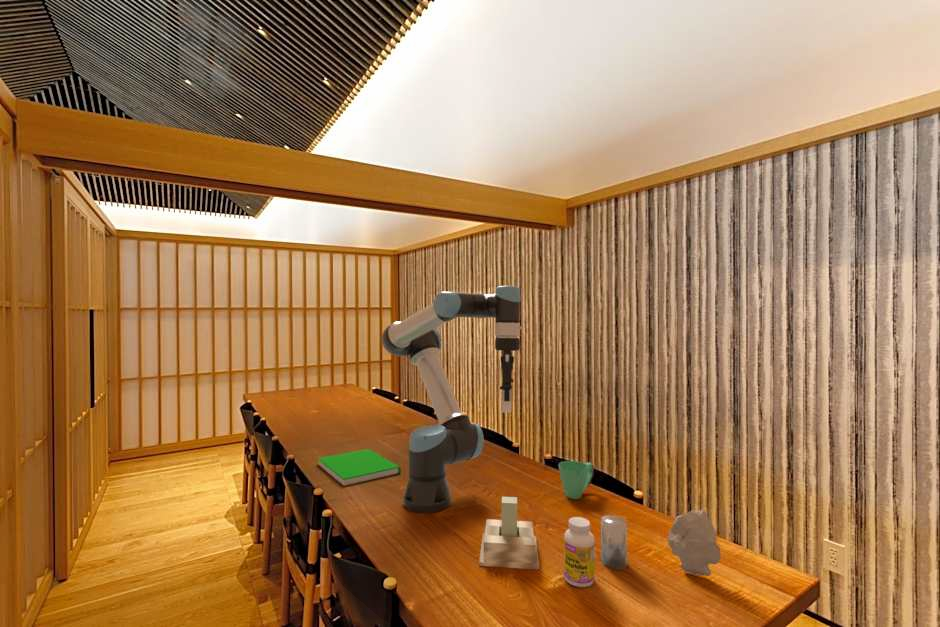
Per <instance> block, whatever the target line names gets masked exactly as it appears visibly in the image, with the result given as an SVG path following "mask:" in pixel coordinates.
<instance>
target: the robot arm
mask: <svg viewBox="0 0 940 627" xmlns="http://www.w3.org/2000/svg"><path fill="white" fill-rule="evenodd" d="M521 302H522V300H521V290H520V288H519V287H518V286H515V285H500V286H496V288H495V292H494V293H486V294H485V293H472V292H471V293H469V292H460V291H452V290H449V291H440V292H438V293H437V294H436V296H435V297H434V299H433V302H432V303H431V304H429V305H428V306H426V307H424V308H422V309H421V310H419V311H417V312H416V313H414V314H412V315H410V316H409V317H407V318H405V319H404V320H401V321H395V322H393V323H391V324H389V325H388V326H387V327H386V328H385V329H384V330H383V332H382V335H381V343H382V346H383V348H384V349H385V351H386V352H388V353H389V354H391V355H393V356H396V357H408V358H409V361H410V362H411V364H412V365H413V366H417V369H418V373H419V374H420V376H421V380H422V381H423V385H424V387H425V390H426V393H427V395H428V398H429V399H430V402H431V405H432V407H433V410H434V412H435V415H436V418H437V421H438V424H431V425H429V424H428V425H422V426H419V427H418V428H417V427H416V429H414V430H412V431H411V434H410V435H409V441H408V442H409V443H408V449H409V450H408V454H409V455H408V456H409V458H408V459H409V460H408V479H407V483H406V487H405V490H404V493H403V496H402V505H403V507H404V508H405V509H406V510H409V511H411V512H414V513H420V514H421V513H422V514H423V513H424V514H428V513H431V514H432V513H437V512H440V511H443V510H446V509H447V508H448V507H450V505H451V504H452V494H451V490H450V487H449V484H448V481H447V476H446V475H447V472H446V471H447V466H450V465H454V464H457V463H461V462H464V461H471V459H474V458H477V457H478V456H479V455H480V454H481V452H482V450H483V448H484V443H485V442H484V440H485V439H484V433H483V430H482V428H481V426H480V425H479V424H477V423H475V422H471V419H470V417H469V415H468V414H466V413H463V412H462V410H461V408H460V405H459V403H458V401H457V398H456V396H455V393H454V391H453V388H452V387H451V384H450V382H449V379H448V377H447V375H446V371H445V370H444V367H443V365H442V362H441V360H440V358H439V357H440V355H441V349H442V343H441V342H442V337H441V334H440V332H439V330H438V329H437V328H438V327H439V328H440V327H441V326H442V325H445V324H447V323H449V322H450V321H453V320H455V319H458V318H475V319H488V318H489V319H490V318H491V319H493V318H495V320H494V336H496V337H495V339H494V349H495V350H496V351H500V352H501V351H503V353H502V355H501V356H500V363H501V364H500V365H501V366H500V367H501V370H502V385H500V386H499V390H501V413H507V414H508V413H510V414H512V406H513V404H512V399H513V398H512V394H513V393H512V392H513V391H512V390H513V389H512V387H513V386H512V384H513V383H514V378H513V379H512V371H514V363H515V356H513V352H514V351H520V349H521V339H520V338H519V337H520V336H521V330H522V329H523V327H522V326H521Z"/></svg>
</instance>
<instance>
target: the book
mask: <svg viewBox="0 0 940 627" xmlns="http://www.w3.org/2000/svg"><path fill="white" fill-rule="evenodd" d="M317 461H318V464H317V466H320V467H321V468H322V469H323V470H324V471H325V472H326V473H328V474H329V475H330V476H331V477H333V478H334V479H335V480H336V481H337V482H339V483H340V484H341V485H343V486H349V485H352V484H357V483H361V482H366V481H367V482H368V481H370V480H375V479H378V478H379V479H380V478H383V477H389V476H393V475H398V474H401V473H402V468H401V467H400V466H399V465H397V464H396V463H394V462H392V461H391V460H389V459H387V458H385V457H383V456H381V455H380V454H378V453H376V452H374V451H373V450H371V449H369V448H367V449H362V450H355V451H350V452H346V453H338V454H333V455H329V456H324V457H318V458H317Z"/></svg>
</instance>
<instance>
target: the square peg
mask: <svg viewBox="0 0 940 627" xmlns="http://www.w3.org/2000/svg"><path fill="white" fill-rule="evenodd" d="M501 520H502V531H501V536H511V537H517V521H518V497H517V496H501Z"/></svg>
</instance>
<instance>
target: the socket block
mask: <svg viewBox="0 0 940 627" xmlns="http://www.w3.org/2000/svg"><path fill="white" fill-rule="evenodd" d="M501 531H502V519H493V518H492V519H489V518H487V519H486V521H485V529H484V532H483V533H482V538H481V546H480V554H479V561H478V566H479V567H496V568H509V569H510V568H511V569H522V570H523V569H525V570H526V569H527V570H540V562H539V554H538V545H537V537H536V535H534V526H533V521H525V520H517V537H511V536H501Z"/></svg>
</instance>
